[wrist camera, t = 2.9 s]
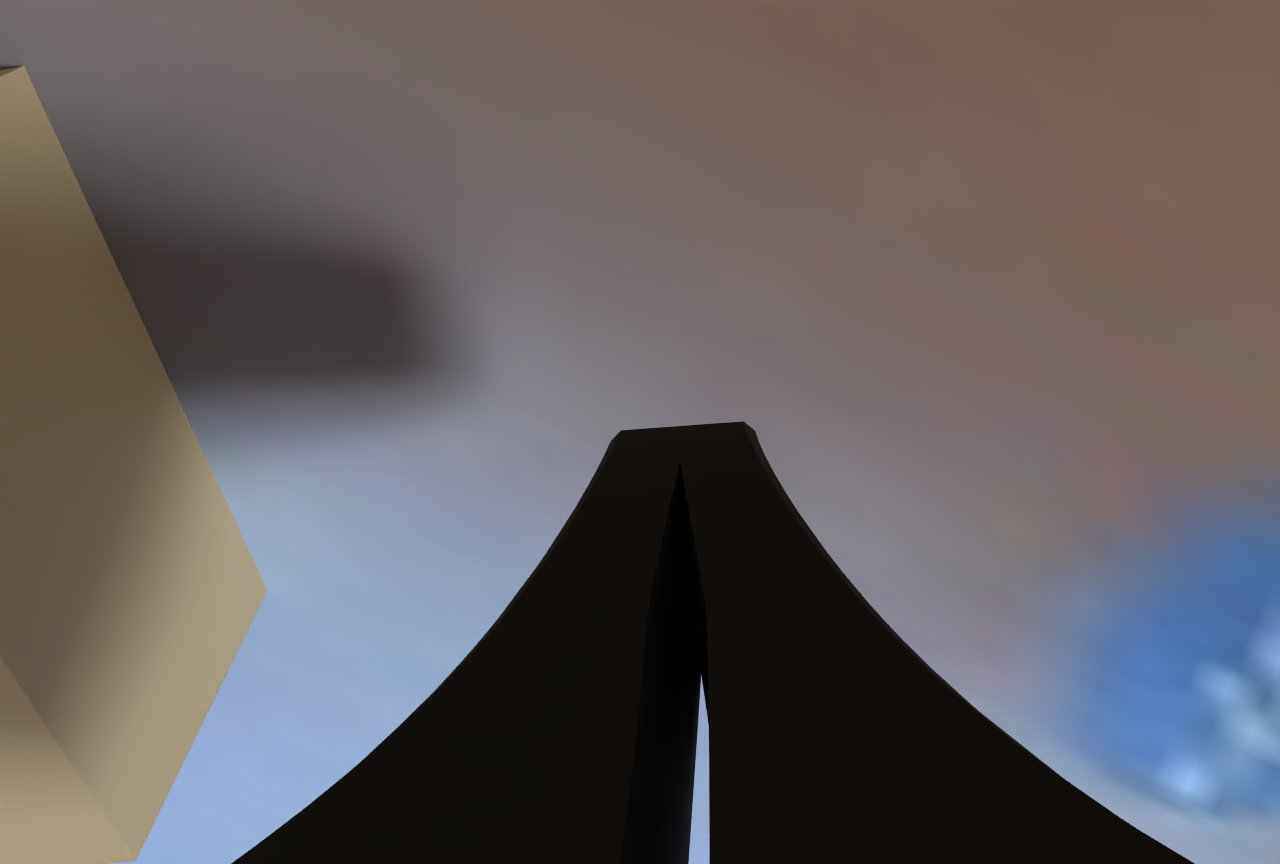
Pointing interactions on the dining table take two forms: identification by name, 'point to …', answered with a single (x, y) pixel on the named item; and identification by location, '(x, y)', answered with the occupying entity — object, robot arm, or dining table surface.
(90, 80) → the dining table surface
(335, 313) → the dining table surface
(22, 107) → the carton
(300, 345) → the dining table surface
